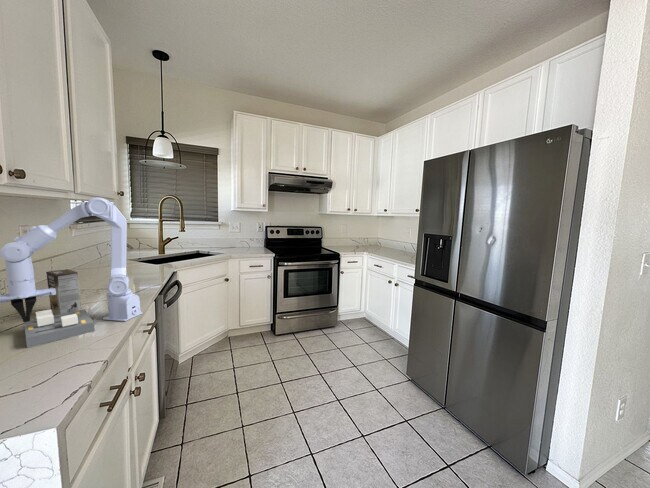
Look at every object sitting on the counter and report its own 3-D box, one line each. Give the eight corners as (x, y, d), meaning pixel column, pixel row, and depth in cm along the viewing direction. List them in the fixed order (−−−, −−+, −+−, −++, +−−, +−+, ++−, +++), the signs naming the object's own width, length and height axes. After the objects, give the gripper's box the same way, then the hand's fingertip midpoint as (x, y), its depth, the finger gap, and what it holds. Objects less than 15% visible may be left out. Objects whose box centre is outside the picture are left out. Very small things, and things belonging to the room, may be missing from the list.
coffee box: (50, 312, 103) (45, 271, 101) (71, 307, 108) (67, 268, 106) (60, 317, 99) (55, 274, 97) (82, 311, 104) (78, 271, 102)
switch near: (76, 320, 88) (75, 313, 88) (78, 323, 86) (77, 316, 86) (61, 323, 85) (60, 316, 85) (62, 326, 83) (61, 319, 83)
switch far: (51, 315, 91) (50, 309, 91) (52, 318, 89) (51, 311, 89) (36, 319, 89) (35, 312, 88) (36, 321, 87) (36, 314, 86)
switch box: (85, 316, 99) (84, 309, 99) (94, 330, 88) (93, 322, 88) (25, 330, 88) (24, 321, 88) (27, 348, 77) (25, 337, 77)
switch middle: (53, 320, 88) (52, 313, 88) (54, 323, 86) (53, 316, 86) (37, 323, 85) (36, 316, 85) (37, 326, 83) (37, 319, 83)
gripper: (-17, 287, 76) (-10, 332, 78) (55, 277, 87) (59, 317, 89) (-16, 282, 81) (-9, 325, 83) (52, 274, 92) (57, 312, 93)
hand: (26, 321), depth 86 cm, fingers closed
